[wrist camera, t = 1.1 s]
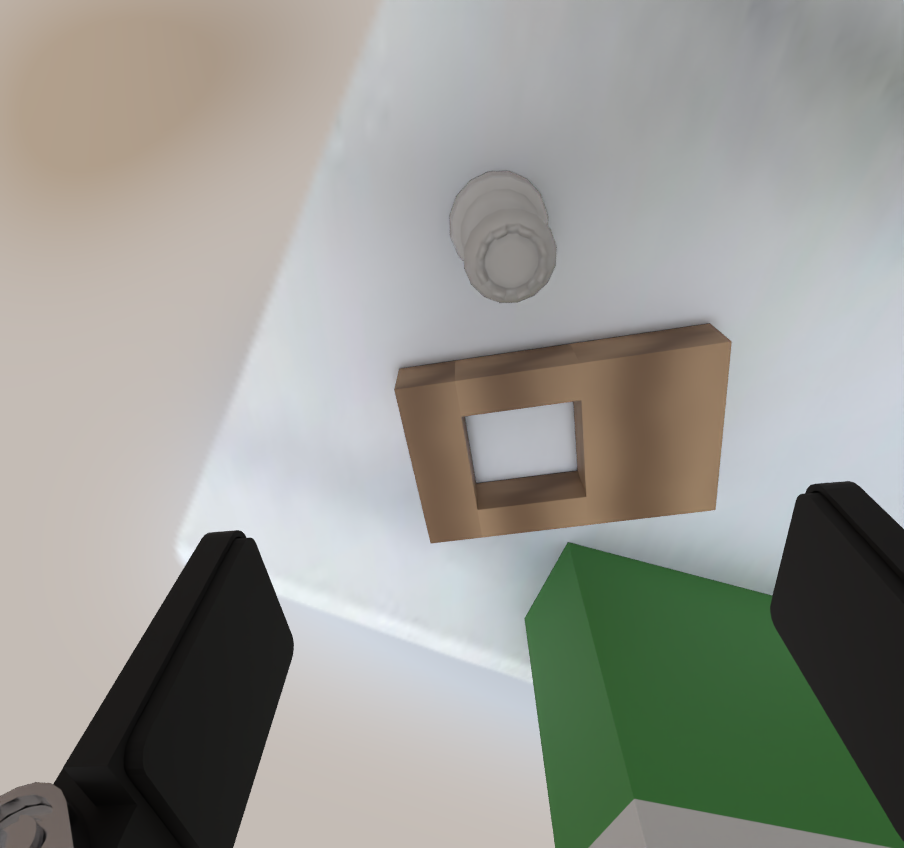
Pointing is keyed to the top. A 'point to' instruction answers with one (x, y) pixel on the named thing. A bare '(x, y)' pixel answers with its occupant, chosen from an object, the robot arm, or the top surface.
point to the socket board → (596, 428)
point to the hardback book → (683, 718)
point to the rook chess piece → (503, 236)
